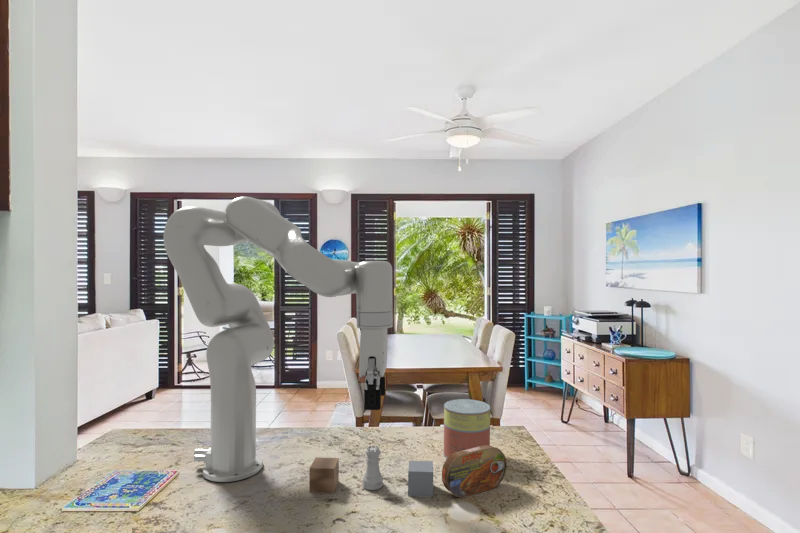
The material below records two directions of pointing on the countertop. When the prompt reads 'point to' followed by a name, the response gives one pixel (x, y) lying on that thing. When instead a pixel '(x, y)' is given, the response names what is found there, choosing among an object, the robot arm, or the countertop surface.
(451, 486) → the tin
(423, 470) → the medium-grey block
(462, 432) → the canned food
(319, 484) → the walnut block
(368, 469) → the rook chess piece
